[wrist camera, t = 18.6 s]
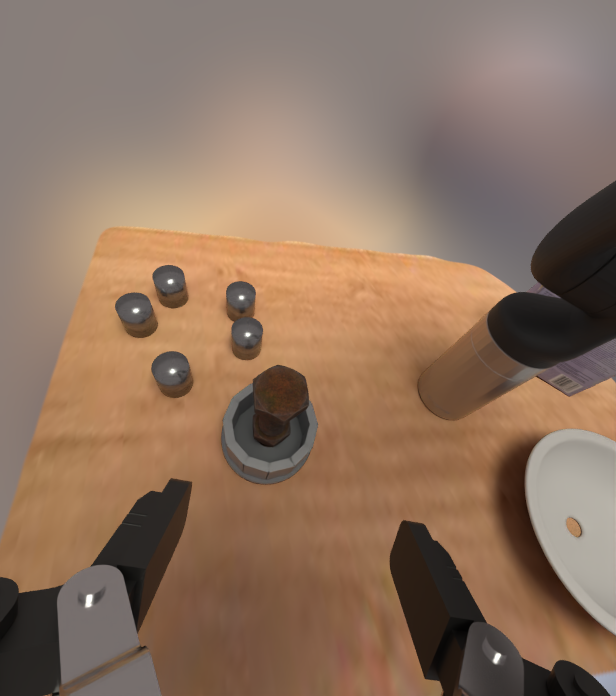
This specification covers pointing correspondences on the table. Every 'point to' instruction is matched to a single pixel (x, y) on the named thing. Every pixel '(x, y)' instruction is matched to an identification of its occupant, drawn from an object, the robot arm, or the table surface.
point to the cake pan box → (580, 363)
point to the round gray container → (254, 457)
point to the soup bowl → (577, 515)
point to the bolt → (277, 403)
